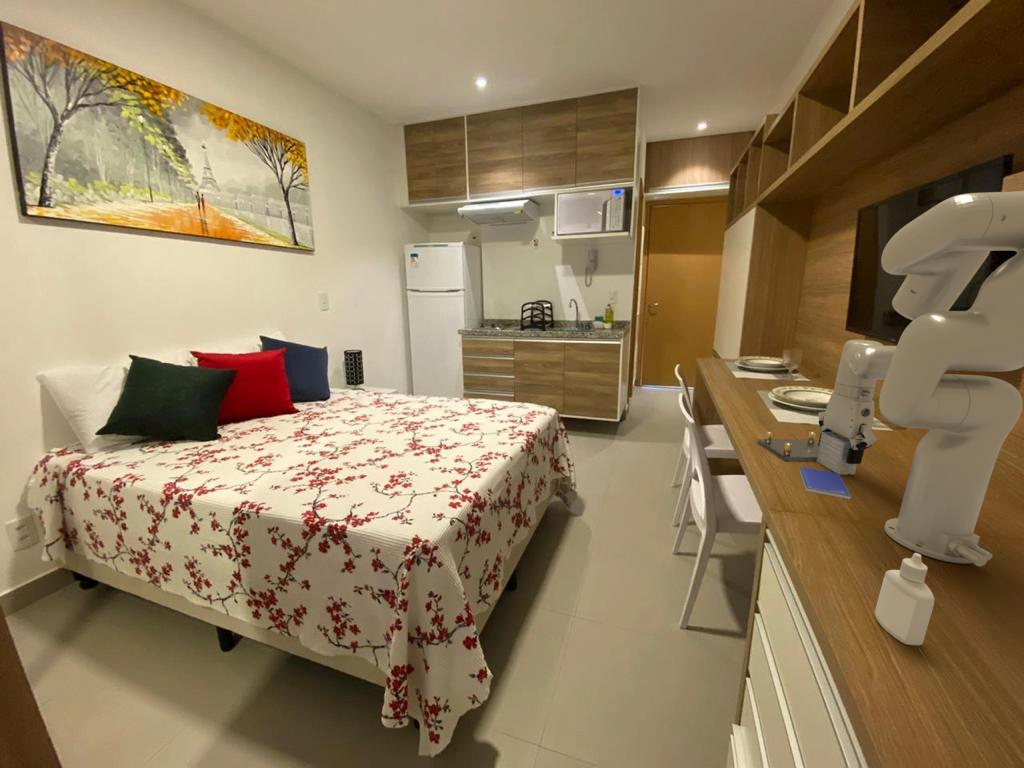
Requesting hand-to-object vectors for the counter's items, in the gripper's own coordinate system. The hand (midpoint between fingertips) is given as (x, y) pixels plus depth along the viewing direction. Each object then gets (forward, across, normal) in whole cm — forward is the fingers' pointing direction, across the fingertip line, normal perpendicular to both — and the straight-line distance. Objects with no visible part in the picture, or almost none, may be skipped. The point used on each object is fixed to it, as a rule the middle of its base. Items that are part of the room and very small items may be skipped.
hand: (838, 454), depth 106 cm
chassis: (+4, +11, +2) cm, 12 cm away
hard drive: (+4, -8, +9) cm, 13 cm away
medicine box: (+4, 0, 0) cm, 4 cm away
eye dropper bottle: (+2, -51, +30) cm, 60 cm away
